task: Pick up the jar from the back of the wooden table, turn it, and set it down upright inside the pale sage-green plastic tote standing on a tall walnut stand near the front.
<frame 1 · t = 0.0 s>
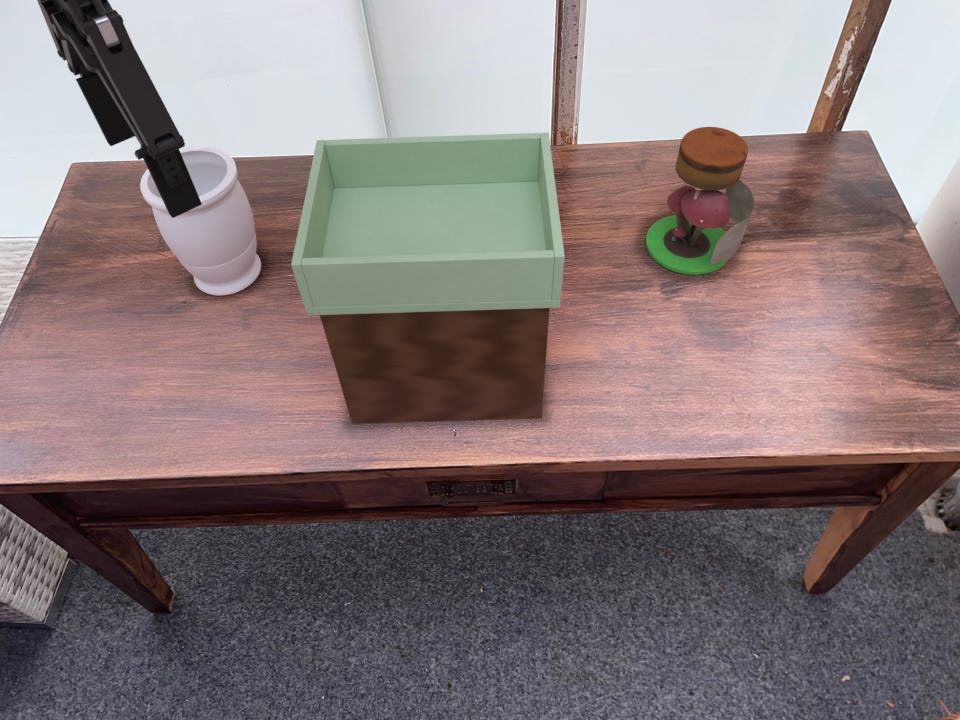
hand: (152, 172, 65), 24 cm above the table, tool pointing down, fingers open, 13 cm apart
stand: (447, 365, 81), on the table
jar: (229, 273, 91), on the table
toy figurine: (688, 249, 91), on the table
tote: (435, 245, 67), resting on stand
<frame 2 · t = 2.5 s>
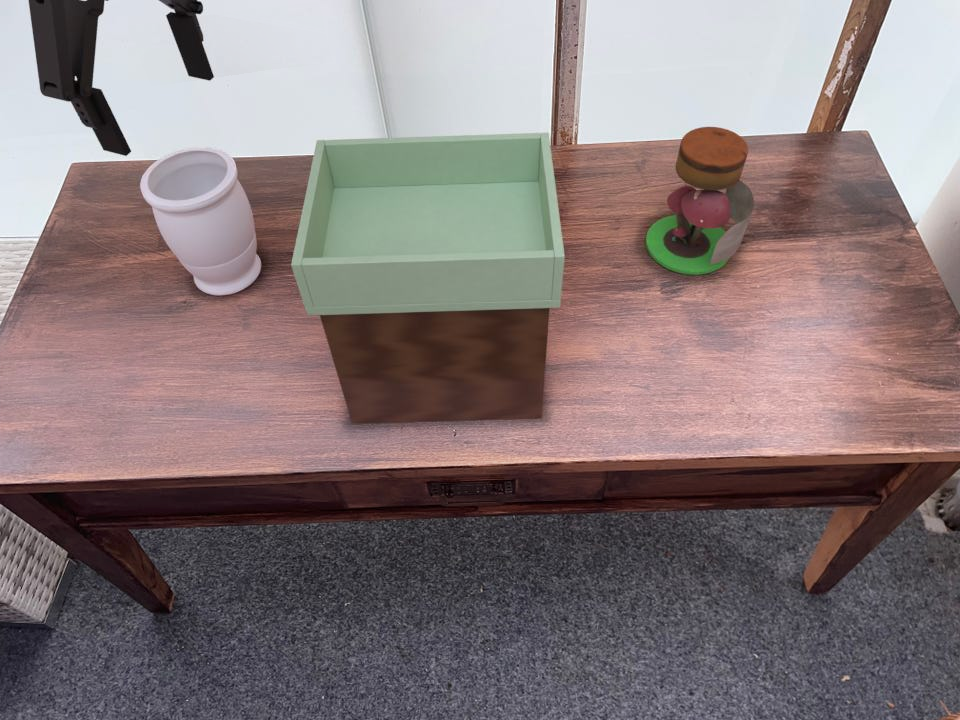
hand: (161, 112, 73), 23 cm above the table, tool pointing down, fingers open, 13 cm apart
nothing on the table moved.
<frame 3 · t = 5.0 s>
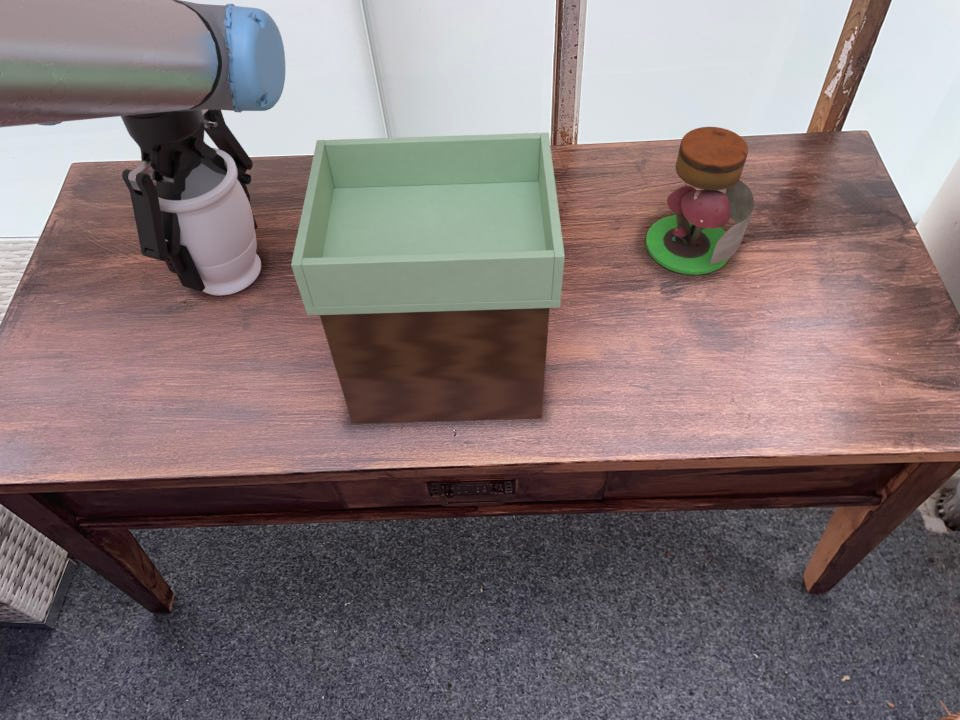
hand: (221, 255, 89), 3 cm above the table, tool pointing down, fingers closed on jar, 11 cm apart
jar: (229, 273, 91), on the table, touching gripper
everything else where it was.
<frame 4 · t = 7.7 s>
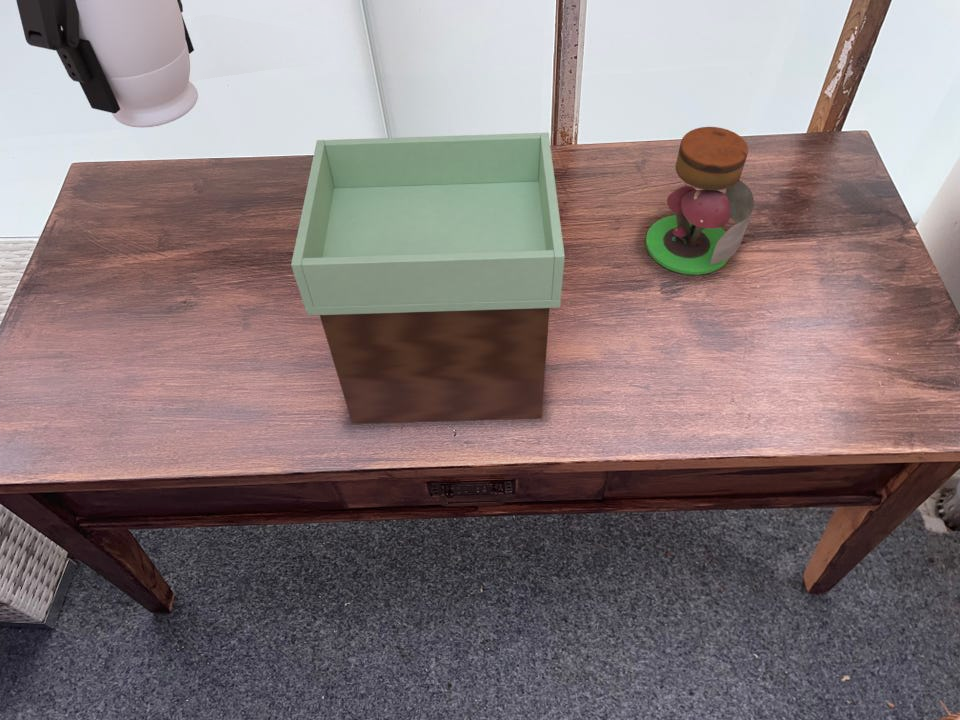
hand: (145, 78, 70), 27 cm above the table, tool pointing down, fingers closed on jar, 11 cm apart
jar: (157, 107, 72), point 23 cm above the table, touching gripper
everything else where it was.
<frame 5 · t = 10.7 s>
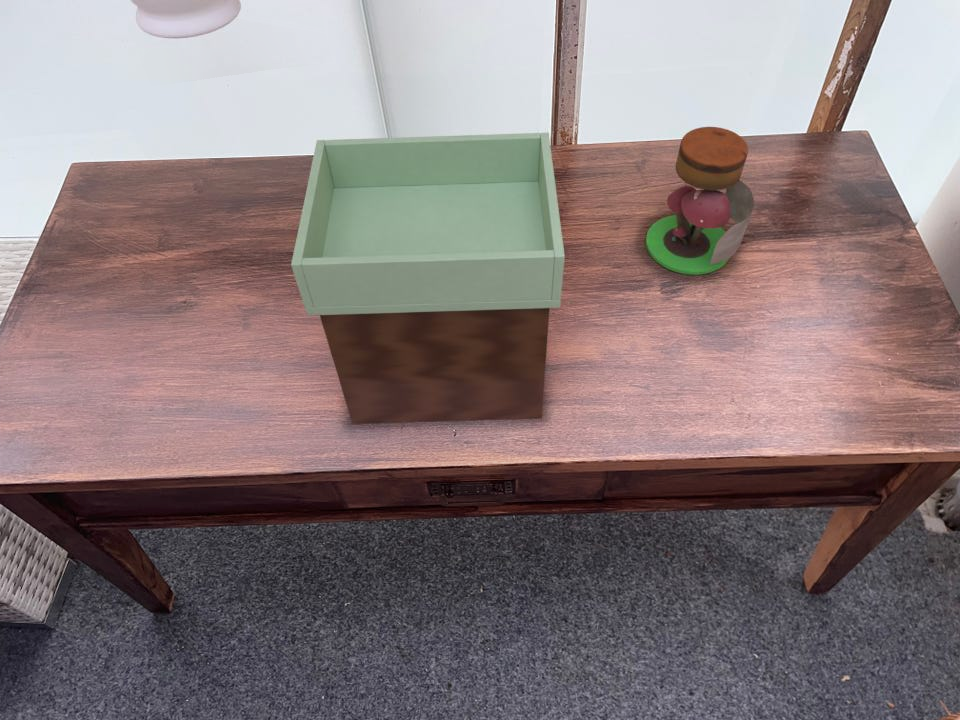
jar: (191, 19, 61), point 34 cm above the table, touching gripper
everything else where it was.
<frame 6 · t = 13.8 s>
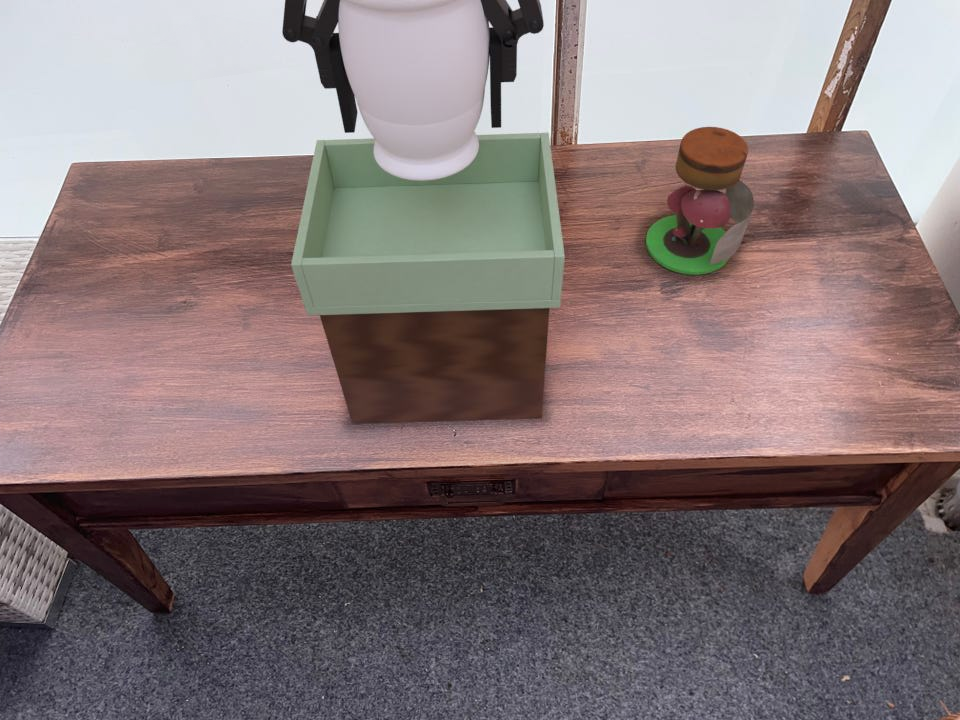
hand: (423, 120, 56), 31 cm above the table, tool pointing down, fingers closed on jar, 11 cm apart
jar: (426, 153, 59), point 28 cm above the table, touching gripper
everything else where it was.
when the fingers open (22 cm above the table, at t = 16.5 s): jar stays where it is, resting on tote.
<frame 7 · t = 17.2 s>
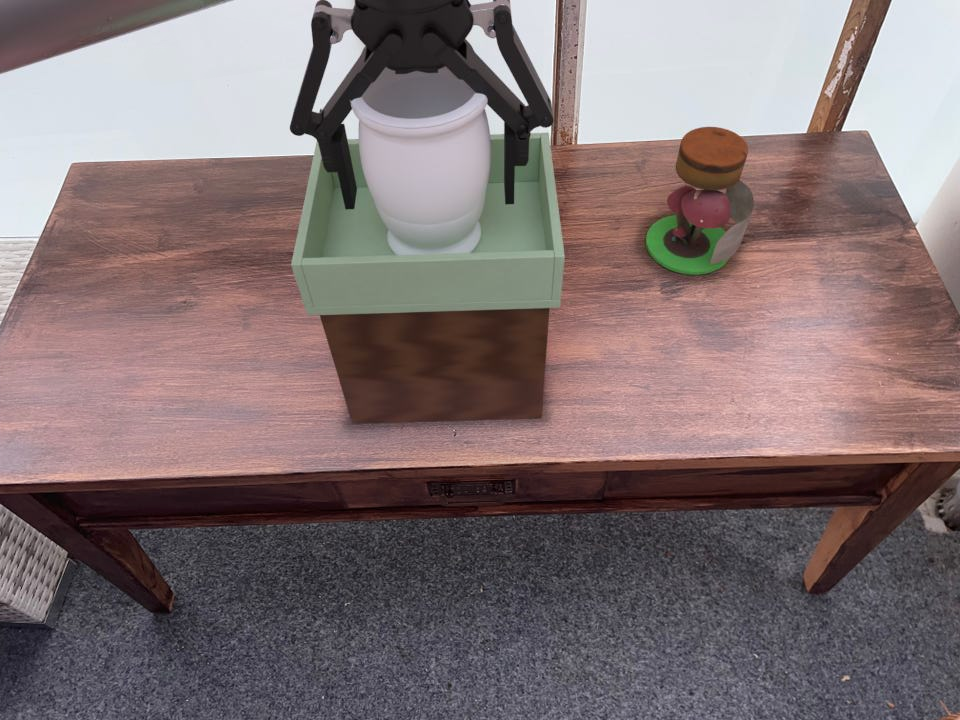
hand: (430, 197, 62), 24 cm above the table, tool pointing down, fingers open, 13 cm apart
jar: (434, 238, 66), point 19 cm above the table, touching tote
everything else where it was.
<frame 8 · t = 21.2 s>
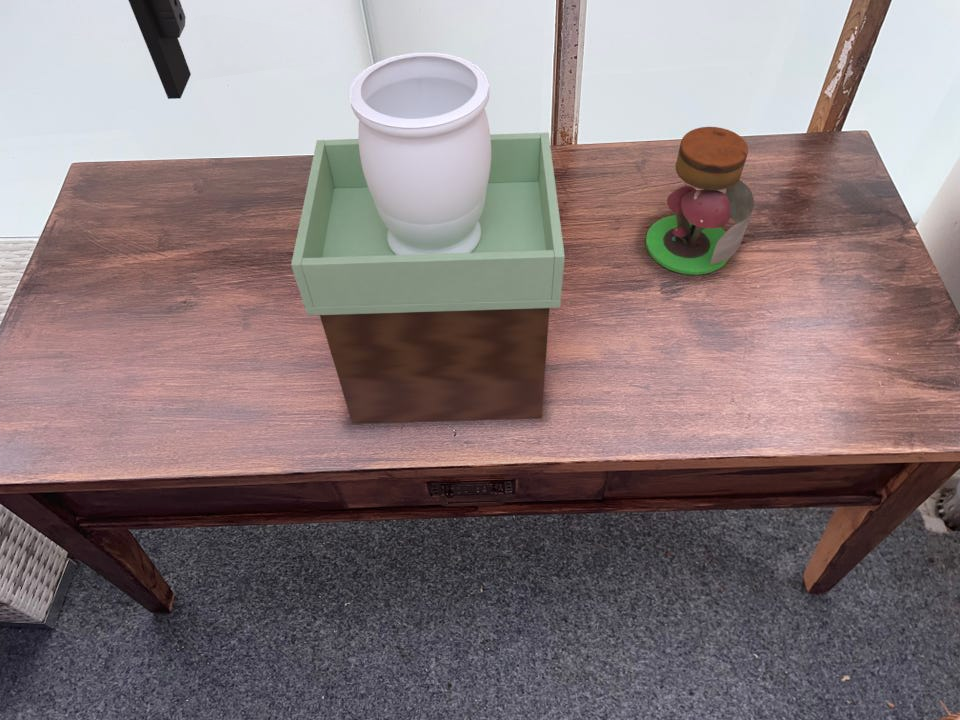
hand: (69, 90, 44), 40 cm above the table, tool pointing down, fingers open, 13 cm apart
nothing on the table moved.
at the end: jar inside the target area on the tote (0.0 cm from its centre), point 0.8 cm above the tote's base; jar tilted 0°; the gripper is holding nothing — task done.
